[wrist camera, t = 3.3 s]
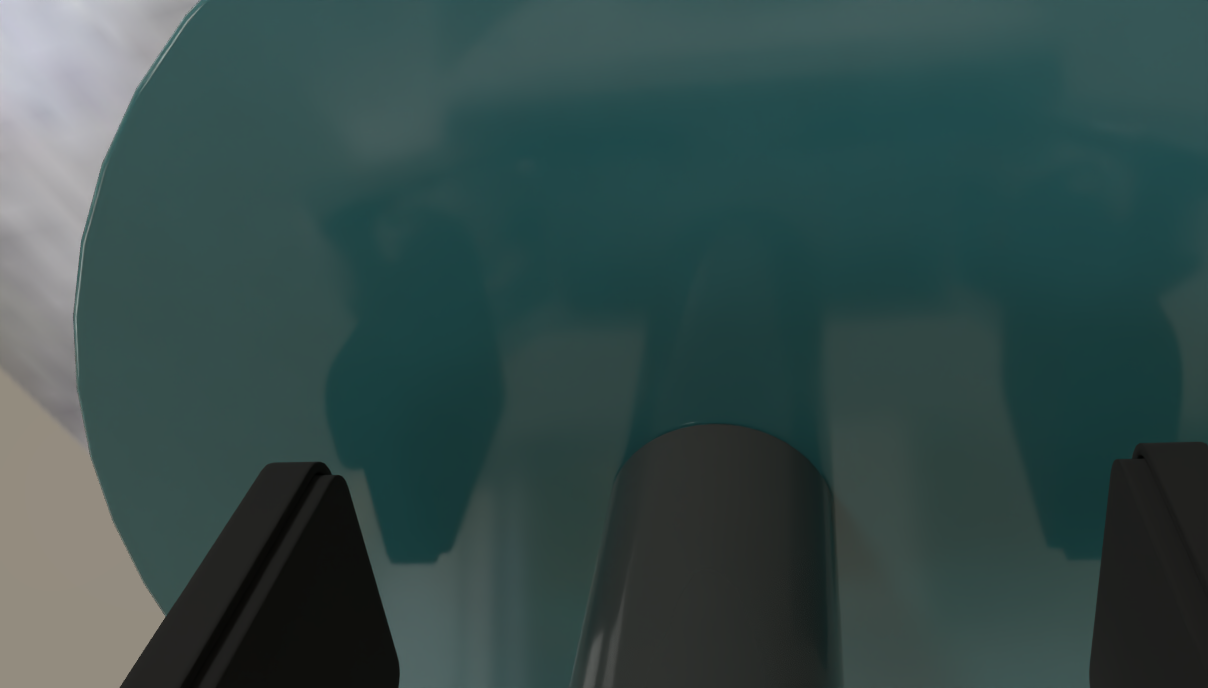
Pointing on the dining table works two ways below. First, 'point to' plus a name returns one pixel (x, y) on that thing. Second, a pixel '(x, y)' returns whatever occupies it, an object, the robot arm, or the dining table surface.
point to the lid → (663, 320)
